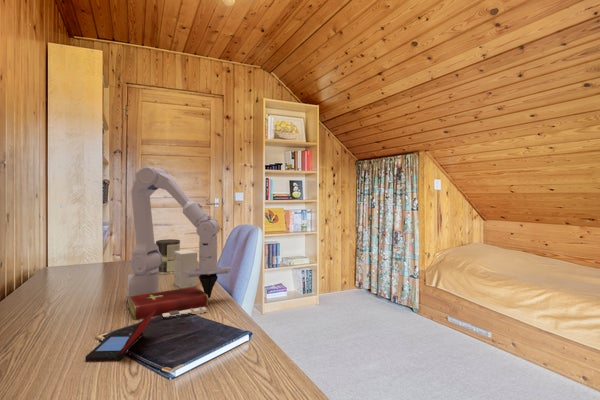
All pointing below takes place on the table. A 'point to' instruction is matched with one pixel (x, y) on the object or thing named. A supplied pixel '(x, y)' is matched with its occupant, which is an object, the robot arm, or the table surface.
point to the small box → (184, 268)
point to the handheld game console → (118, 343)
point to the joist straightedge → (185, 312)
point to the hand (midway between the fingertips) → (207, 297)
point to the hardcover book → (166, 301)
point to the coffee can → (167, 254)
